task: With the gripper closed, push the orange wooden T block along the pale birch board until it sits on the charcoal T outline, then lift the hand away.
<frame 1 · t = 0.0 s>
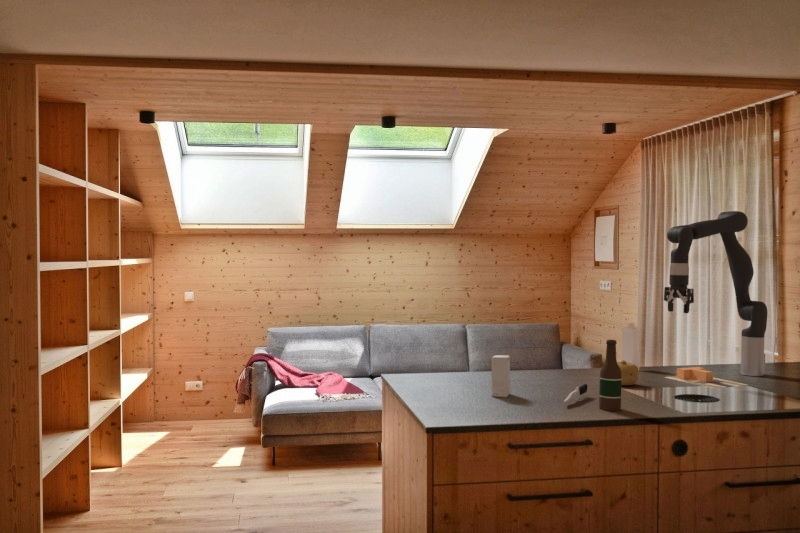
hand: (678, 312, 305), 29 cm above the counter, tool pointing down, fingers open, 8 cm apart
beer bottle: (610, 409, 251), on the counter
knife: (575, 402, 262), on the counter
skincare box: (500, 395, 273), on the counter
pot: (623, 385, 297), on the counter
t block: (694, 378, 308), point 1 cm above the counter, touching push board
push board: (705, 383, 302), on the counter
milk: (630, 371, 332), on the counter
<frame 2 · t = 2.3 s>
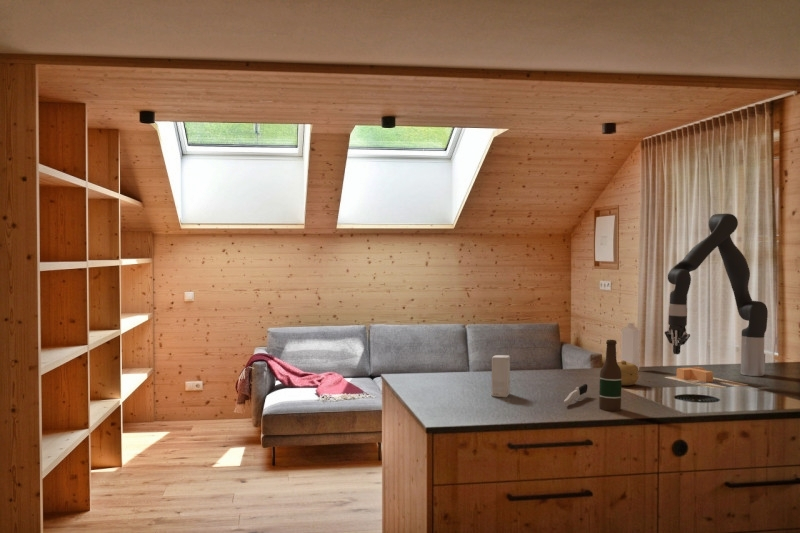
hand: (676, 354, 317), 10 cm above the counter, tool pointing down, fingers closed
nothing on the counter moved.
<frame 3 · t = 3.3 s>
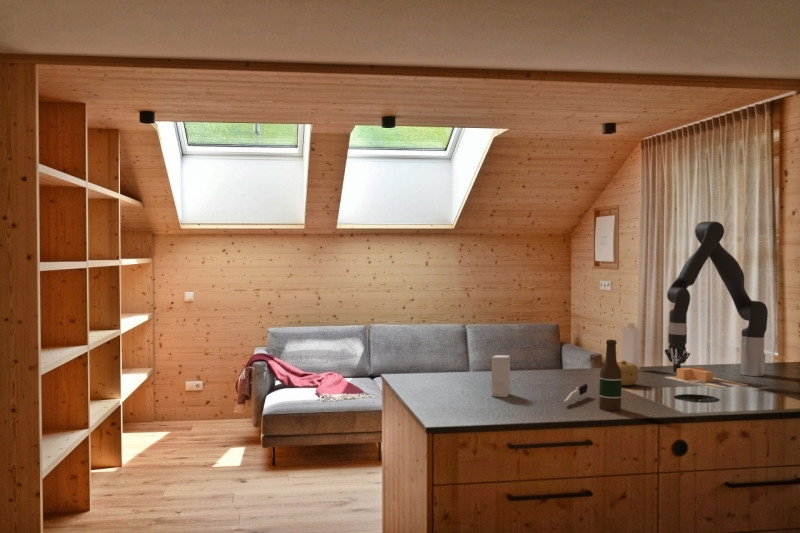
hand: (676, 372, 317), 2 cm above the counter, tool pointing down, fingers closed
nothing on the counter moved.
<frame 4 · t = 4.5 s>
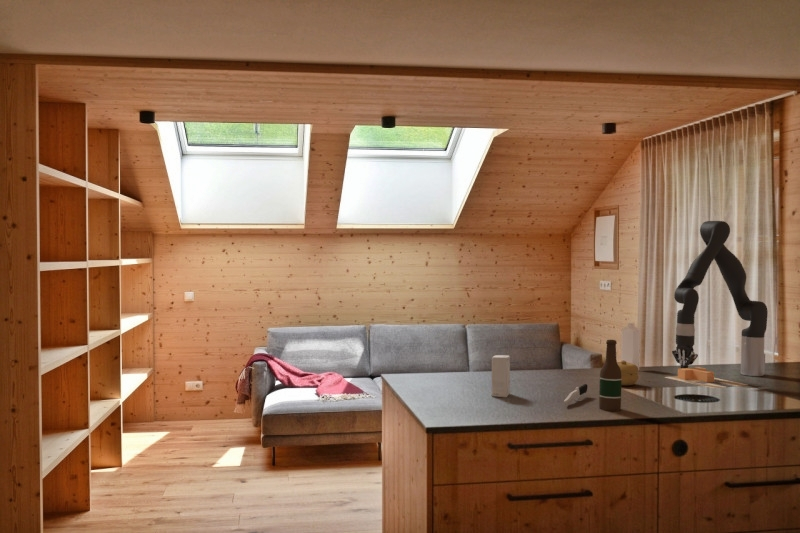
hand: (684, 373, 313), 2 cm above the counter, tool pointing down, fingers closed
t block: (695, 378, 307), point 1 cm above the counter, touching gripper, push board
everything else where it was.
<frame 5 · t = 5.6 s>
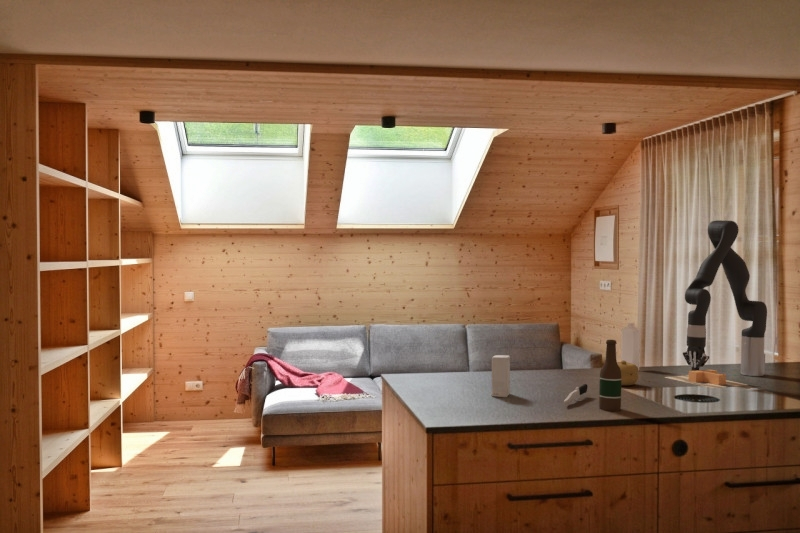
hand: (695, 376, 307), 2 cm above the counter, tool pointing down, fingers closed
t block: (706, 381, 301), point 1 cm above the counter, touching gripper, push board
everything else where it was.
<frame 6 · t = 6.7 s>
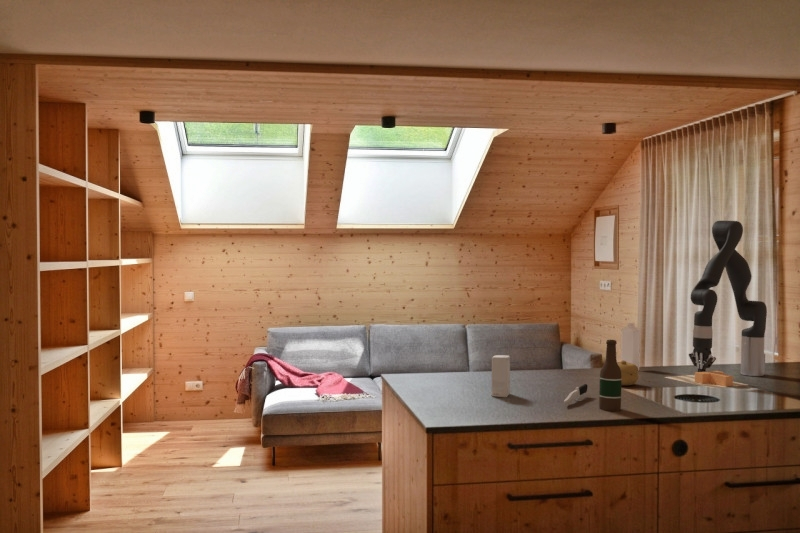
hand: (701, 377, 304), 2 cm above the counter, tool pointing down, fingers closed
t block: (713, 382, 298), point 1 cm above the counter, touching gripper, push board
everything else where it was.
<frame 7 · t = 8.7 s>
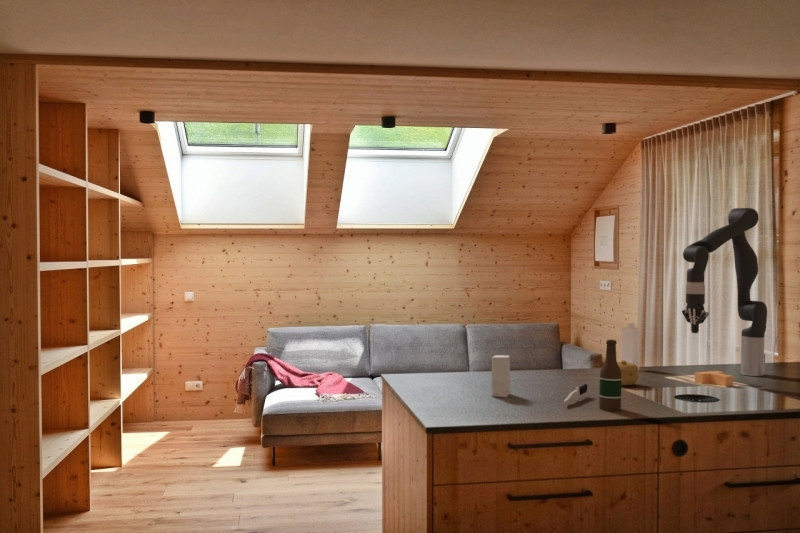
hand: (694, 333, 310), 20 cm above the counter, tool pointing down, fingers closed
t block: (713, 382, 298), point 1 cm above the counter, touching push board
everything else where it was.
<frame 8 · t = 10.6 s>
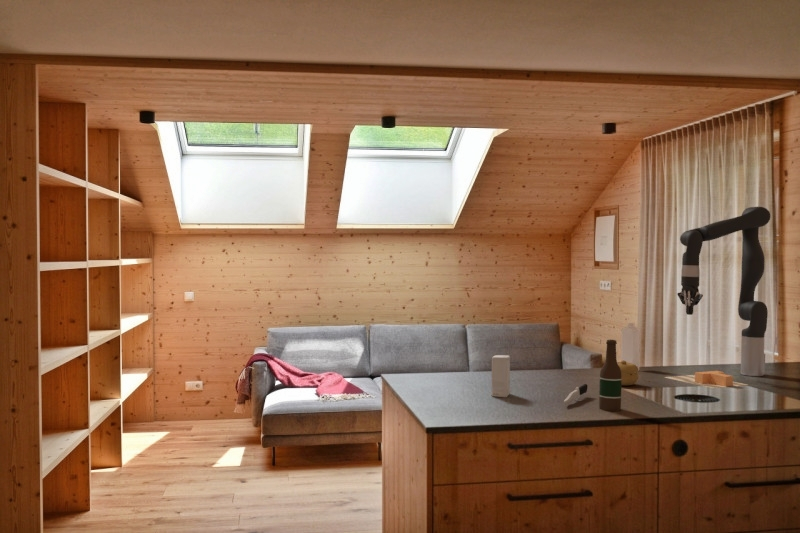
hand: (689, 314, 322), 27 cm above the counter, tool pointing down, fingers closed
nothing on the counter moved.
at the end: t block 0.4 cm from the target spot on the push board, point 1.0 cm above the push board's base; t block tilted 0° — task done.
